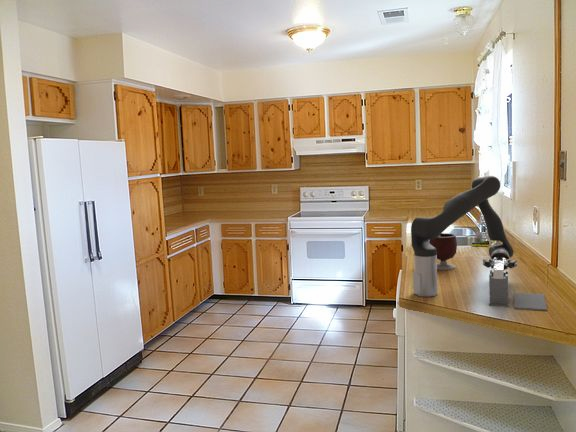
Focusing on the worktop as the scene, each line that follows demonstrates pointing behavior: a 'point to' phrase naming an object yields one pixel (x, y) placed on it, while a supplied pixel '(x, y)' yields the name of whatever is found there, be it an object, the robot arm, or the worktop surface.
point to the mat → (529, 301)
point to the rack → (498, 290)
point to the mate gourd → (445, 249)
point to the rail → (498, 269)
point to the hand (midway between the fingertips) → (499, 267)
